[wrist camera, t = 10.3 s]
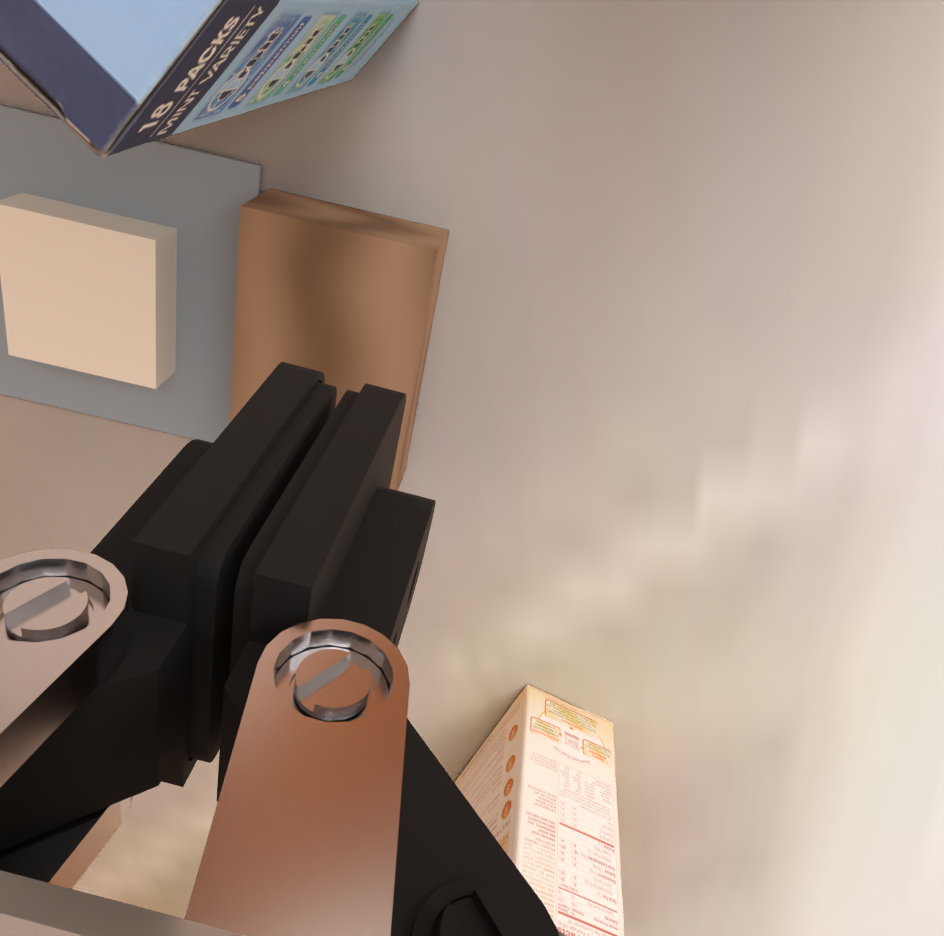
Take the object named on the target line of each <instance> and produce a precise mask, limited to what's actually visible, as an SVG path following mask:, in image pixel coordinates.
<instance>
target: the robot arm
mask: <svg viewBox="0 0 944 936" xmlns="http://www.w3.org/2000/svg"><path fill="white" fill-rule="evenodd" d="M336 397H337V388H336V386H332V385H328V384H325V375H324V373H323V372H321V371H317V370H313V369H309V368H305V367H301V366H297V365H293V364H290V363H286V362H281V363H280V364H278V366H277V367H276V368H275V369H274V370H273V372H272V373H271V374H270V375H269V376H268V378H267V379H266V380H265V381H264V382H263V384H262V385H261V386H260V387H259V388H258V390H257V391H256V392H255V393H254V394H253V396H252V397H251V398H250V399H249V400H248V402H247V403H246V404H245V405H244V406H243V408H242V409H241V410H240V411H239V412H238V414H237V415H236V416H235V417H234V418H233V420H232V421H231V422H230V423H229V424H228V426H227V427H226V428H225V429H224V430H223V432H222V433H221V434H220V435H219V436H218V438H217V439H216V440H215V441H214V442H213V443H211V442H207V441H204V440H200V439H195V440H192V441H190V442H189V443H188V444H187V445H186V446H185V447H184V448H183V449H182V450H181V451H180V452H179V453H178V455H177V456H176V457H175V458H174V459H173V460H172V461H171V462H170V464H169V465H168V466H167V467H166V468H165V469H164V470H163V472H162V473H161V474H160V475H159V476H158V477H157V478H156V479H155V481H154V482H153V483H152V484H151V485H150V486H149V487H148V488H147V490H146V491H145V492H144V493H143V494H142V495H141V496H140V497H139V499H138V500H137V501H136V502H135V503H134V504H133V505H132V507H131V508H130V509H129V510H128V511H127V512H126V513H125V514H124V516H123V517H122V518H121V519H120V520H119V521H118V522H117V523H116V525H115V526H114V527H113V528H112V529H111V530H110V531H109V532H108V534H107V535H106V536H105V537H104V538H103V539H102V540H101V542H100V543H99V544H98V545H97V546H96V547H95V548H94V549H93V551H92V552H91V553H87V552H83V551H79V550H74V549H44V550H37V551H29V552H24V553H21V554H18V555H15V556H12V557H9V558H6V559H3V560H1V561H0V936H567V935H565V934H563V933H561V932H559V931H558V929H557V927H556V925H555V924H554V922H553V920H552V918H551V916H550V915H549V913H548V911H547V909H546V907H545V906H544V904H543V903H542V901H541V900H540V898H539V897H538V896H537V894H536V893H535V892H534V890H533V889H532V888H531V886H530V885H529V883H528V882H527V881H526V879H525V878H524V877H523V875H522V874H521V873H520V871H519V870H518V869H517V867H516V866H515V864H514V863H513V862H512V860H511V859H510V858H509V856H508V855H507V854H506V852H505V851H504V850H503V848H502V847H501V845H500V844H499V843H498V841H497V840H496V839H495V837H494V836H493V835H492V833H491V832H490V830H489V829H488V828H487V826H486V825H485V824H484V822H483V821H482V820H481V818H480V817H479V816H478V814H477V813H476V811H475V810H474V809H473V807H472V806H471V805H470V803H469V802H468V801H467V799H466V798H465V796H464V795H463V794H462V792H461V791H460V790H459V788H458V787H457V786H456V784H455V783H454V782H453V780H452V779H451V777H450V776H449V775H448V773H447V772H446V771H445V769H444V768H443V767H442V765H441V764H440V763H439V761H438V760H437V758H436V757H435V756H434V754H433V753H432V752H431V750H430V749H429V748H428V746H427V745H426V743H425V742H424V741H423V739H422V738H421V737H420V735H419V734H418V733H417V731H416V730H415V729H414V727H413V726H412V724H411V723H410V722H409V720H408V719H407V710H408V697H409V675H408V667H407V664H406V662H405V660H404V659H403V657H402V655H401V653H400V651H399V649H398V648H397V646H398V643H399V640H400V637H401V633H402V630H403V627H404V624H405V620H406V617H407V614H408V611H409V607H410V604H411V600H412V597H413V593H414V590H415V586H416V583H417V579H418V575H419V571H420V568H421V564H422V560H423V556H424V552H425V547H426V543H427V539H428V535H429V530H430V526H431V522H432V517H433V513H434V508H435V500H431V499H427V498H424V497H420V496H416V495H412V494H408V493H404V492H400V491H397V490H393V489H389V488H390V483H391V478H392V472H393V467H394V462H395V457H396V452H397V446H398V441H399V436H400V431H401V425H402V420H403V415H404V410H405V404H406V393H402V392H398V391H394V390H390V389H386V388H382V387H379V386H375V385H371V384H367V383H365V385H364V386H363V387H362V389H361V391H360V393H359V392H355V391H351V390H347V391H346V392H345V393H344V395H343V397H342V398H341V400H340V402H339V403H338V405H337V406H336V408H335V405H336ZM219 749H220V757H219V772H218V788H217V802H218V803H217V807H216V810H215V814H214V817H213V821H212V824H211V828H210V831H209V835H208V838H207V842H206V845H205V849H204V852H203V856H202V859H201V863H200V866H199V870H198V873H197V877H196V880H195V883H194V887H193V890H192V894H191V897H190V901H189V904H188V908H187V911H186V915H185V918H184V919H182V918H178V917H175V916H171V915H167V914H164V913H160V912H156V911H152V910H149V909H145V908H141V907H137V906H134V905H130V904H126V903H123V902H119V901H115V900H111V899H107V898H104V897H100V896H96V895H92V894H88V893H85V892H81V891H77V890H73V889H72V888H73V887H74V885H75V884H76V883H77V881H78V880H79V879H80V878H81V876H82V875H83V874H84V872H85V871H86V870H87V868H88V867H89V866H90V864H91V863H92V862H93V861H94V859H95V858H96V857H97V855H98V854H99V853H100V851H101V850H102V849H103V847H104V846H105V845H106V843H107V842H108V841H109V840H110V838H111V837H112V836H113V834H114V833H115V832H116V830H117V829H118V828H119V826H120V825H121V824H122V822H123V820H124V818H125V816H126V815H127V813H128V811H129V809H130V807H131V802H132V797H133V796H134V795H137V794H139V793H142V792H144V791H146V790H149V789H151V788H154V787H156V786H158V785H159V784H160V782H161V781H162V782H166V783H170V784H174V785H178V786H182V787H183V786H184V784H185V782H186V780H187V778H188V777H189V775H190V773H191V771H192V769H193V767H194V765H195V763H196V761H197V760H201V761H205V762H209V763H210V762H212V761H213V759H214V758H215V756H216V755H217V753H218V751H219Z"/></svg>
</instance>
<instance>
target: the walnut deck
mask: <svg viewBox="0 0 944 936" xmlns="http://www.w3.org/2000/svg"><path fill="white" fill-rule="evenodd" d="M448 234H449V230H446V229H442V228H438V227H433V226H429V225H425V224H420V223H416V222H412V221H407V220H403V219H399V218H395V217H390V216H386V215H382V214H377V213H373V212H369V211H364V210H360V209H356V208H352V207H347V206H343V205H339V204H334V203H330V202H326V201H321V200H317V199H313V198H309V197H304V196H300V195H296V194H291V193H287V192H283V191H278V190H274V189H268V190H267V191H265V192H263V193H262V194H260V195H258V196H256V197H255V198H253V199H251V200H249V201H248V202H246V203H244V204H243V205H241V206H240V224H239V244H238V264H237V284H236V304H235V324H234V344H233V364H232V384H231V404H230V422H231V421H232V420H233V418H234V417H235V416H236V415H237V414H238V412H239V411H240V410H241V409H242V408H243V406H244V405H245V404H246V403H247V402H248V400H249V399H250V398H251V397H252V396H253V394H254V393H255V392H256V391H257V390H258V388H259V387H260V386H261V385H262V384H263V382H264V381H265V380H266V379H267V378H268V376H269V375H270V374H271V373H272V372H273V370H274V369H275V368H276V367H277V366H278V364H280V363H281V362H286V363H290V364H293V365H297V366H301V367H305V368H309V369H313V370H317V371H321V372H323V373H324V375H325V384H328V385H332V386H336V388H337V397H336V405H335V408H336V406H337V405H338V403H339V402H340V400H341V398H342V397H343V395H344V393H345V392H346V391H347V390H351V391H355V392H359V393H360V391H361V389H362V387H363V386H364V385H365V383H367V384H371V385H375V386H379V387H382V388H386V389H390V390H394V391H398V392H402V393H406V404H405V410H404V415H403V420H402V425H401V431H400V436H399V441H398V446H397V452H396V457H395V462H394V467H393V472H392V478H391V483H390V488H389V489H393V490H397V491H398V488H399V486H400V483H401V480H402V478H403V475H404V472H405V469H406V463H407V458H408V453H409V447H410V442H411V436H412V431H413V425H414V420H415V414H416V409H417V403H418V398H419V392H420V387H421V381H422V376H423V371H424V365H425V360H426V354H427V349H428V343H429V338H430V332H431V327H432V321H433V316H434V310H435V305H436V300H437V294H438V289H439V283H440V278H441V272H442V267H443V261H444V256H445V250H446V245H447V239H448Z"/></svg>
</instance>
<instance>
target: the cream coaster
mask: <svg viewBox="0 0 944 936" xmlns="http://www.w3.org/2000/svg"><path fill="white" fill-rule="evenodd" d="M0 277H1V287H2V296H3V306H4V315H5V325H6V335H7V344H8V354H9V355H11V356H16V357H20V358H24V359H29V360H33V361H37V362H42V363H46V364H50V365H54V366H59V367H63V368H67V369H72V370H76V371H80V372H85V373H89V374H93V375H97V376H102V377H106V378H110V379H115V380H119V381H123V382H128V383H132V384H136V385H140V386H145V387H149V388H153V389H157V388H158V387H159V386H160V385H161V384H162V383H163V382H164V381H165V380H167V379H168V378H169V377H170V376H171V375H172V374H173V373H174V372H175V371H176V278H177V228H172V227H168V226H164V225H159V224H155V223H151V222H147V221H142V220H138V219H134V218H129V217H125V216H121V215H116V214H112V213H108V212H104V211H99V210H95V209H91V208H86V207H82V206H78V205H73V204H69V203H65V202H61V201H56V200H52V199H48V198H43V197H39V196H35V195H30V194H26V193H20V194H17V195H14V196H11V197H8V198H5V199H2V200H0Z"/></svg>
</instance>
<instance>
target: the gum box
mask: <svg viewBox="0 0 944 936" xmlns="http://www.w3.org/2000/svg"><path fill="white" fill-rule="evenodd" d="M417 4H418V0H0V60H1V61H2V62H3V63H4V64H5V65H6V66H7V67H8V68H9V69H10V70H11V71H12V72H13V73H14V74H15V75H16V76H17V77H18V78H19V79H20V80H21V81H22V82H23V83H24V84H25V85H26V86H27V87H28V88H29V89H30V90H31V91H32V92H33V93H34V94H35V95H36V96H37V97H38V98H40V99H41V100H42V101H43V102H44V103H45V104H46V105H47V106H48V107H49V108H50V109H51V110H52V111H53V112H54V113H55V114H56V115H57V116H58V117H59V118H60V119H61V120H62V121H63V122H64V123H65V124H66V125H67V126H68V127H69V128H70V129H71V130H72V132H73V133H74V134H75V135H76V136H77V137H78V138H79V139H80V140H81V141H83V142H84V143H85V144H86V145H87V146H88V147H89V148H90V149H91V150H92V151H93V152H94V153H95V154H96V155H97V156H100V157H103V158H105V157H107V156H109V155H112V154H116V153H120V152H122V151H125V150H127V149H130V148H132V147H136V146H140V145H142V144H145V143H149V142H154V141H157V140H159V139H162V138H165V137H167V136H171V135H174V134H178V133H181V132H184V131H187V130H190V129H193V128H197V127H200V126H203V125H207V124H210V123H213V122H216V121H219V120H222V119H225V118H229V117H232V116H236V115H239V114H243V113H246V112H249V111H252V110H255V109H258V108H261V107H264V106H267V105H270V104H274V103H277V102H281V101H284V100H288V99H291V98H294V97H297V96H300V95H303V94H307V93H310V92H313V91H316V90H320V89H323V88H326V87H331V86H334V85H337V84H339V83H344V82H348V81H351V80H352V79H353V78H354V77H355V75H356V74H357V73H358V72H359V71H360V70H361V69H362V67H363V66H364V65H365V64H366V63H367V62H368V61H369V59H370V58H371V57H372V56H373V55H374V54H375V52H376V51H377V50H378V49H379V48H380V47H381V45H382V44H383V43H384V42H385V41H386V40H387V38H388V37H389V36H390V35H391V34H392V33H393V31H394V30H395V29H396V28H397V27H398V26H399V24H400V23H401V22H402V21H403V20H404V19H405V18H406V17H407V15H408V14H409V13H410V12H411V11H412V10H413V9H414V8H415V7H416V5H417Z"/></svg>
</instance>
